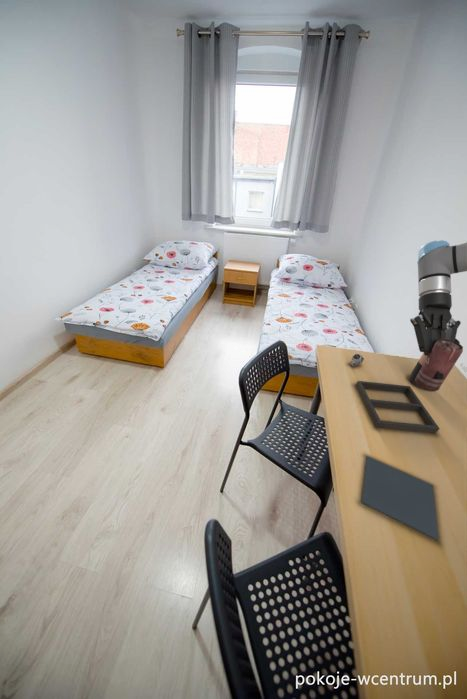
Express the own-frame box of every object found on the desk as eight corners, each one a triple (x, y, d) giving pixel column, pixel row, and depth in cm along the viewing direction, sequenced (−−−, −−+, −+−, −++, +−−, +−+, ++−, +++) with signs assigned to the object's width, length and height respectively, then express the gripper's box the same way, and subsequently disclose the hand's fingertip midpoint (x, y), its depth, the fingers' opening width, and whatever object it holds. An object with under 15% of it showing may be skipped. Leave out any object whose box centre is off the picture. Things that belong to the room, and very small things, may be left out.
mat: (431, 486, 71) (432, 485, 70) (437, 540, 60) (438, 539, 60) (366, 457, 76) (367, 456, 75) (361, 502, 65) (362, 501, 65)
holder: (406, 391, 100) (409, 386, 99) (435, 433, 85) (439, 428, 84) (355, 385, 100) (357, 380, 98) (375, 427, 84) (378, 422, 83)
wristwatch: (346, 363, 110) (351, 353, 107) (357, 360, 113) (362, 350, 110) (353, 369, 108) (358, 359, 105) (364, 365, 111) (369, 355, 108)
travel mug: (412, 373, 110) (439, 330, 98) (432, 384, 105) (463, 340, 94) (404, 380, 106) (431, 336, 94) (425, 392, 101) (456, 347, 90)
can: (419, 390, 76) (445, 348, 69) (410, 377, 82) (433, 336, 75) (442, 394, 76) (470, 351, 69) (431, 380, 81) (456, 339, 74)
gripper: (446, 302, 82) (449, 382, 78) (403, 298, 82) (403, 377, 78) (468, 293, 75) (472, 380, 71) (421, 288, 74) (422, 375, 70)
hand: (436, 379), depth 74 cm, fingers closed
